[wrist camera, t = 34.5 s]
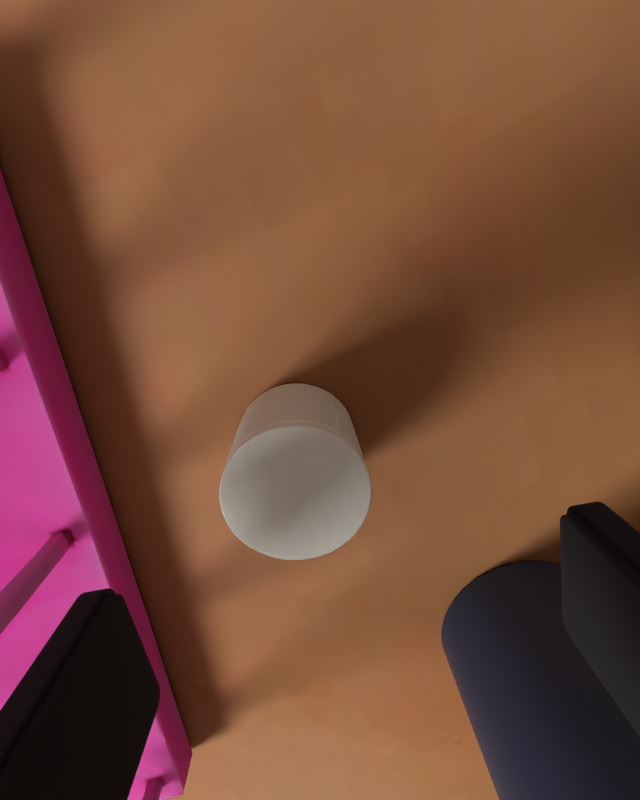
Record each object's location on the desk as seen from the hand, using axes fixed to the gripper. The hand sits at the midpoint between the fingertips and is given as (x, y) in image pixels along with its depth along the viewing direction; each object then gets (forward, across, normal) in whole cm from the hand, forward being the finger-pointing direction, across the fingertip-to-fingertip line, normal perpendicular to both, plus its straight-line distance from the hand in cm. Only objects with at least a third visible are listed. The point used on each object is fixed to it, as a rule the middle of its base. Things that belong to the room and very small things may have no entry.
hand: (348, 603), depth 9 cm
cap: (+6, +1, -1) cm, 6 cm away
